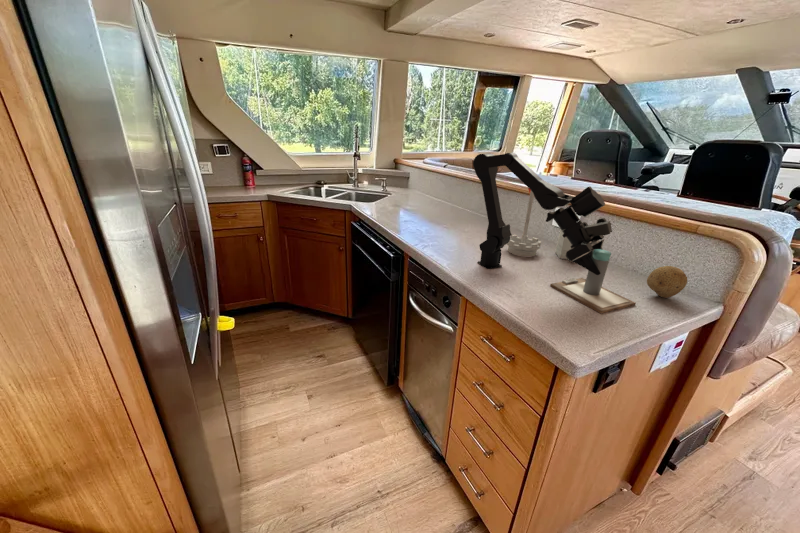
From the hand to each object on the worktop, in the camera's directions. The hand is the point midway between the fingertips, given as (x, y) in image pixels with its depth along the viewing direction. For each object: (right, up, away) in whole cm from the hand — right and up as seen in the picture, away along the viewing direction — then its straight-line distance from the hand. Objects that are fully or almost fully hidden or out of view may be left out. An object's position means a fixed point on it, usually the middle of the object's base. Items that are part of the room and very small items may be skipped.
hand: (602, 269), depth 95 cm
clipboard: (-1, -8, +4) cm, 9 cm away
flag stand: (-9, +7, +39) cm, 41 cm away
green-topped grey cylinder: (-1, -7, +4) cm, 8 cm away
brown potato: (+20, -8, +5) cm, 22 cm away
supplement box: (+8, +5, +36) cm, 37 cm away
